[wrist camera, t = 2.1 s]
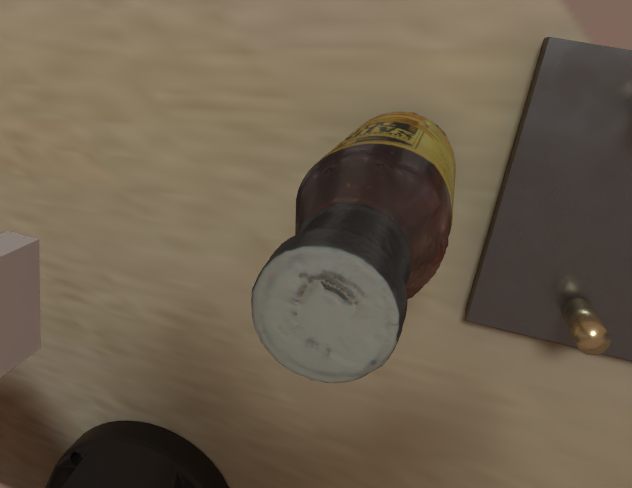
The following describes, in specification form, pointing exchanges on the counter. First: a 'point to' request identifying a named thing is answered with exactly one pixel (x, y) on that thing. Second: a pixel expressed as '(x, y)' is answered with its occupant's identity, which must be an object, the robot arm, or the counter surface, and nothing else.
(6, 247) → the robot arm
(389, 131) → the sauce bottle
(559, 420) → the counter surface
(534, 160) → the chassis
